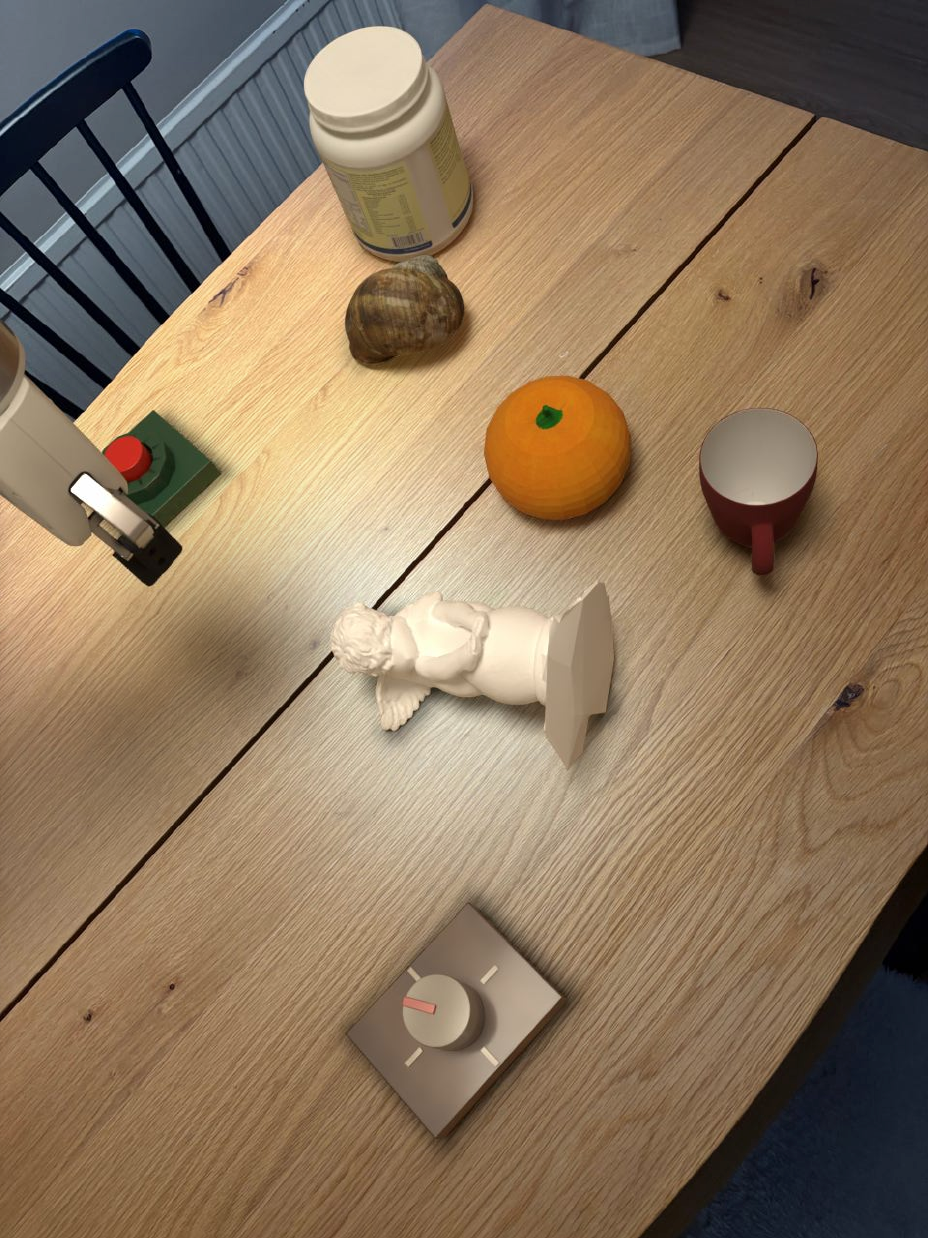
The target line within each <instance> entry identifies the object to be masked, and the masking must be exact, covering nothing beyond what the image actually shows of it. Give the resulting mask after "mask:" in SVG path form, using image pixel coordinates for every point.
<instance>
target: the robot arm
mask: <svg viewBox="0 0 928 1238" xmlns="http://www.w3.org/2000/svg"><path fill="white" fill-rule="evenodd" d="M26 360H27V359H26V351H25V348H24V345H23V343H22V341H21V339H20V338H19V336H18V335H17V334H16V333H15V332H14V331H13V329H12V328H11V327H10V326H9V325H8V324H7V323H6V321H4V320H3V318H1V317H0V497H2V498H3V499H4V500H6V501H7V502H9V503H10V504H11V505H12V506H14V507H15V508H17V509H18V510H19V511H20V512H21V513H22V514H24V515H25V516H27V517H28V518H30V520H32V521H33V522H34V523H37V524H38V525H39V526H40V527H42V528H43V529H44V530H46V531H47V532H49V533H50V534H51V535H52V536H54V537H56V539H58V540H59V541H61V542H63V543H64V544H66V545H67V546H70V547H82V546H83V545H84V544H85V543H86V541H88V540H89V539H90V538H91V537H92V534H93V535H94V536H96V537H97V538H98V539H99V540H100V541H102V542H103V543H104V544H106V545H107V546H108V548H110V549H111V550H113V553H112V554H111V555H112V557H113V558H114V559H115V560H117V561H118V562H119V563H120V564H121V565H122V566H123V567H124V568H126V570H128V571H129V572H130V573H131V574H132V575H133V576H134V577H136V578H137V579H138V580H139V581H140V582H141V583H142V584H144V585H145V586H146V587H149V588H150V587H153V586H154V585H155V584H156V583H157V582H158V580H159V579H160V578H161V577H162V576H163V575H164V574H166V572H167V571H168V570H169V569H170V568H171V567H172V566H173V564H174V562H175V561H176V560H177V558H178V557H179V556H180V555H181V554H182V553H183V545H182V544H181V543H180V542H179V541H178V540H177V539H176V538H175V537H174V536H173V535H172V534H171V533H170V532H169V531H168V530H167V529H166V528H165V527H163V526H162V525H161V524H160V523H159V522H158V521H157V520H156V519H155V518H154V517H153V516H152V515H150V514H146V513H145V512H144V511H143V510H142V509H141V508H139V507H138V506H137V505H136V504H135V503H134V502H132V501H131V500H130V499H129V498H128V497H127V496H125V495H124V494H126V495H127V494H128V485H127V482H126V480H125V479H124V477H123V476H122V475H121V474H120V472H119V471H118V470H117V469H116V468H115V467H114V466H113V464H112V463H111V462H110V461H109V460H108V459H107V458H106V457H105V456H104V455H103V454H102V451H101V450H100V449H99V448H98V446H96V445H95V444H94V443H93V442H92V441H91V440H90V439H89V437H87V435H85V433H83V431H82V430H81V429H80V428H79V427H78V426H77V425H76V424H75V423H74V422H73V421H72V420H71V419H70V418H69V417H68V416H67V415H66V414H65V412H63V411H62V410H61V409H60V408H59V407H58V406H57V405H56V404H55V402H54V401H53V400H52V399H51V398H50V397H48V396H47V395H46V394H45V393H44V392H43V391H42V390H41V389H40V387H38V386H37V385H36V384H35V382H34V381H32V380H31V379H30V378H29V377H28V376H27V375H26V373H25V372H26V364H27V363H26V362H27V361H26ZM100 485H101V486H102V487H101V486H100ZM105 489H106V490H107V491H106V490H105ZM123 493H124V494H123ZM82 504H84V505H85V506H87V507H88V508H89V509H90V510H91V511H92V512H90V514H89V515H87V511H86V508H85V507H84V506H82ZM103 521H106V522H107V523H108V524H109V525H111V526H112V527H113V528H115V529H116V530H117V532H118V533H120V536H119V537H118V538H116V537H115V536H113V535H112V534H111V533H110V532H108V531H107V530H106V529H104V527H102V526H101V525H100V524H101V523H103Z"/></svg>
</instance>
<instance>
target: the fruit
mask: <svg viewBox="0 0 928 1238" xmlns="http://www.w3.org/2000/svg"><path fill="white" fill-rule="evenodd" d="M613 398H614V397H612V396H611V394H610V393H609V392H607V391H606V390H604V389H603V388H601V387H599V386H597V385H596V384H594V383H593V382H592V381H589V380H587V379H583V378H579V377H575V376H572V375H549V376H548V375H546V376H544V377H540V378H536V379H533V380H530V381H528V382H526V383H524V384H523V385H521V386H519V387H518V388H516V389H515V390H513V391H512V392H511V393H509V395H508V396H507V397H505V398H504V400H503V401H502V402H501V403H500V404H499V405H498V406H497V407H496V409H495V411H494V413H493V414H492V417H491V419H490V422H489V424H488V425H487V427H486V431H485V439H484V447H483V457H484V462H485V465H486V469H487V473H488V477H489V479H490V481H491V483H492V485H493V486H494V487H495V489H496V490H497V492H498V493H499V494H500V496H501V497H502V499H503V500H504V501H505V502H507V503H508V504H509V505H510V506H513V507H514V508H515V509H517V510H518V511H520V513H522V514H525V515H528V516H531V517H535V518H538V519H542V520H569V519H573V518H576V517H579V516H582V515H586V514H588V513H590V512H591V511H593V510H594V509H597V507H600V506H601V505H603V504H604V503H606V502H607V501H608V499H610V497H611V496H612V495H613V494H614V493H615V492H616V490H617V489H618V488H619V487H620V486H621V483H622V482H623V479H624V477H625V475H626V473H627V470H628V467H629V466H630V463H631V450H632V435H631V432H630V428H629V425H628V422H627V419H626V416H625V413H624V411H623V410H622V409H621V406H620V405H618V403H617V402H616V400H615V399H613Z"/></svg>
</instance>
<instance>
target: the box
mask: <svg viewBox="0 0 928 1238" xmlns="http://www.w3.org/2000/svg"><path fill="white" fill-rule="evenodd" d="M127 436H130V437H134V438H137V439H138V440H139V441H140V442H141V443H142V444H143V445H144V447H145V448H146V449H147V450H148V451H149V452H150V454H151V459H152V461H151V466H150V468H149V470H148V471H147V472H146V473H145V474H144V475H143V476H142V477H141V478H140V479H138V480H135V481H132V482H127V485H128V494H127V495H126V494H124V493H123V494H124V495H125V496H127V497H128V498H129V499H130V500H131V501H132V502H134V503H135V504H136V505H137V506H138V507H139V508H141V509H142V510H143V511H144V512H145V513H146V514H150V515H152V516H153V517H154V518H155V519H156V520H157V521H158V522H159V523H160V524H161V525H162V526H163V527H164V528H165V527H166V526H167V525H168V524H169V523H170V522H172V520H174V518H176V517H177V516H178V515H179V514H180V513H181V512H183V510H184V509H185V508H186V507H187V506H188V505H189V504H190V503H192V501H194V500H195V499H196V498H197V497H198V496H199V495H200V494H201V493H202V492H203V491H205V490H206V488H208V486H209V485H211V484H212V483H213V482H214V481H215V480H216V479H217V478H218V477H219V476H220V475H221V473H222V472H221V471H220V470H219V468H217V467H216V465H215V464H214V462H213V461H212V460H211V459H210V458H209V457H207V456H206V454H204V453H203V452H202V451H201V450H200V449H199V448H198V447H196V446H195V445H194V444H193V443H192V442H191V441H189V440H188V439H187V438H186V437H185V436H184V435H183V434H182V433H181V432H179V431H178V430H177V429H176V428H175V427H174V426H173V425H171V424H170V423H169V422H168V421H167V420H166V419H165V418H163V416H161V415H160V414H159V413H158V412H157V411H156V410H154V409H152V410H151V411H150V412H149V413H148V414H147V415H146V416H145V417H144V418H143V419H141V420H140V421H139V422H138V423H137V424H135V426H134V427H133V428H132V429H130V430H129V431H128V432H127V433H124V434H121V435H118V436H116V437H115V438H114V439H113V440H112V441H111V442H110V443H109V444H108V445H106V446H105V447H104V448H103V450H102V451H101V452H102V454H103V455H104V456H105V452H106V450H107V449H108V447H109V446H110V445H111V444H112V443H113V442H114V441H116V440H117V439H119V438H122V437H127ZM100 486H101V485H100ZM101 487H102V486H101ZM105 490H106V489H105ZM106 491H107V490H106Z"/></svg>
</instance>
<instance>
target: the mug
mask: <svg viewBox="0 0 928 1238" xmlns="http://www.w3.org/2000/svg"><path fill="white" fill-rule="evenodd" d="M817 445H818V444H817V442H816V440H815V437H814V435H813V434H812V432H811V430H810V429H809V427H807V425H805V423H804V422H802V421H801V420H800V419H798V418H797V417H796V416H794V415H792V414H790V413H788V412H785V411H783V410H780V409H775V408H770V407H751V408H750V407H749V408H745V409H740V410H738V411H735V412H732V413H731V414H728V415H726V416H724V417H723V418H721V419H720V420H719V421H718V422H716V423H715V424H714V425H712V427H711V428H710V429H709V431H707V433H706V435H705V437H704V438H703V441H702V442H701V446H700V449H699V454H698V475H699V476H698V477H699V484H700V489H701V492H702V495H703V498H704V500H705V503H706V505H707V507H708V510H709V512H710V515H711V517H712V520H713V521H714V523H715V526H717V528H718V529H719V530H720V532H721V533H722V534H723V535H724V536H726V537H727V538H728V539H729V540H731V541H733V542H735V543H737V544H739V545H741V546H746V547H749V548H751V571H752V573H753V574H754V575H756V576H763V577H764V576H769V575H771V574H772V573H773V572H774V569H775V543H776V542H778V541H779V540H781V539H783V538H785V536H787V535H788V534H789V532H791V530H793V529H794V527H795V526H796V524H797V522H798V521H799V519H800V517H801V515H802V513H803V511H804V509H805V508H806V505H807V504H808V502H809V500H810V497H811V495H812V493H813V491H814V488H815V485H816V480H817V474H818V463H819V452H818V451H819V450H818V446H817Z"/></svg>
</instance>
